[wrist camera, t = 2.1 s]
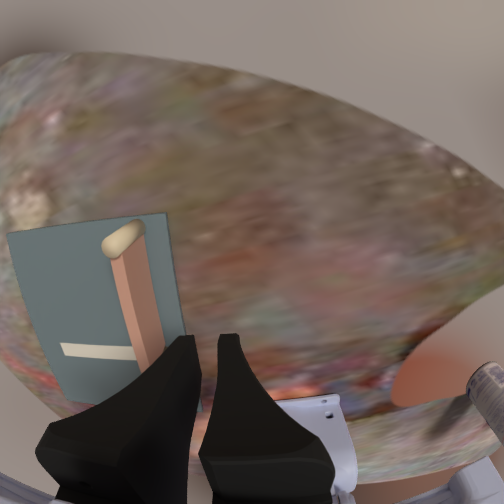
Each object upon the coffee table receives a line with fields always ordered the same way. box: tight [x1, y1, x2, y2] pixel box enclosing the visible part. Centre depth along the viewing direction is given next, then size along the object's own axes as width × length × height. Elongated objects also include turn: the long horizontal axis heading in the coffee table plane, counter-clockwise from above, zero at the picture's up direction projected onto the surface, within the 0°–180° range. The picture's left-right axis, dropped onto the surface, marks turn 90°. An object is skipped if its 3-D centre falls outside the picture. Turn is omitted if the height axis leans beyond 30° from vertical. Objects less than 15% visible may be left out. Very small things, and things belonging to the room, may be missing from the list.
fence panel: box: [101, 219, 166, 374], centre depth 18 cm, size 10×1×4 cm, turn 4°
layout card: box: [6, 212, 203, 412], centre depth 22 cm, size 15×18×1 cm
